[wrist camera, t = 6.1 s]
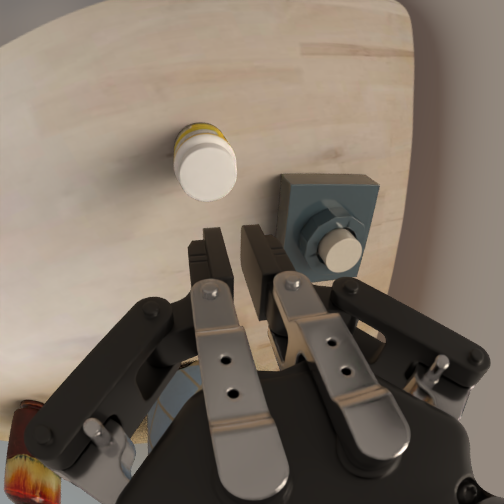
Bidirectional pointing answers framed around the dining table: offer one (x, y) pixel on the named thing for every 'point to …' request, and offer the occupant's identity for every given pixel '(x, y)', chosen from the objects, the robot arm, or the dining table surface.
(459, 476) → the robot arm
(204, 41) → the dining table surface
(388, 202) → the dining table surface
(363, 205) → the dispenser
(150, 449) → the planter
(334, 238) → the white button cap
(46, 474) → the vase
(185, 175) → the supplement bottle
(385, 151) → the dining table surface
